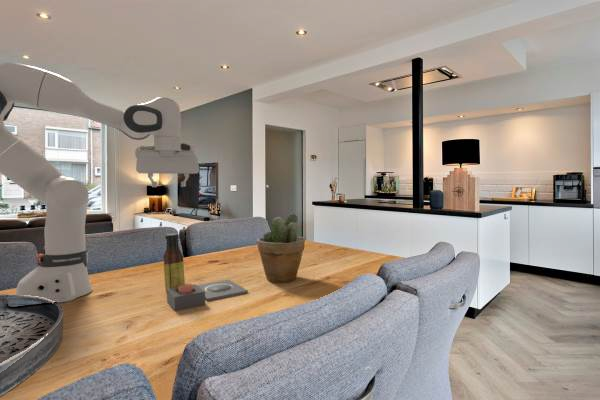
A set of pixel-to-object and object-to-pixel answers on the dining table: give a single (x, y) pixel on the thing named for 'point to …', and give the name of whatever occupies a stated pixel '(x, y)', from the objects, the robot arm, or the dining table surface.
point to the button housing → (185, 298)
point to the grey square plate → (221, 289)
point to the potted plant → (281, 250)
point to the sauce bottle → (173, 263)
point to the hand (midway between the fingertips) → (169, 186)
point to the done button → (185, 288)
